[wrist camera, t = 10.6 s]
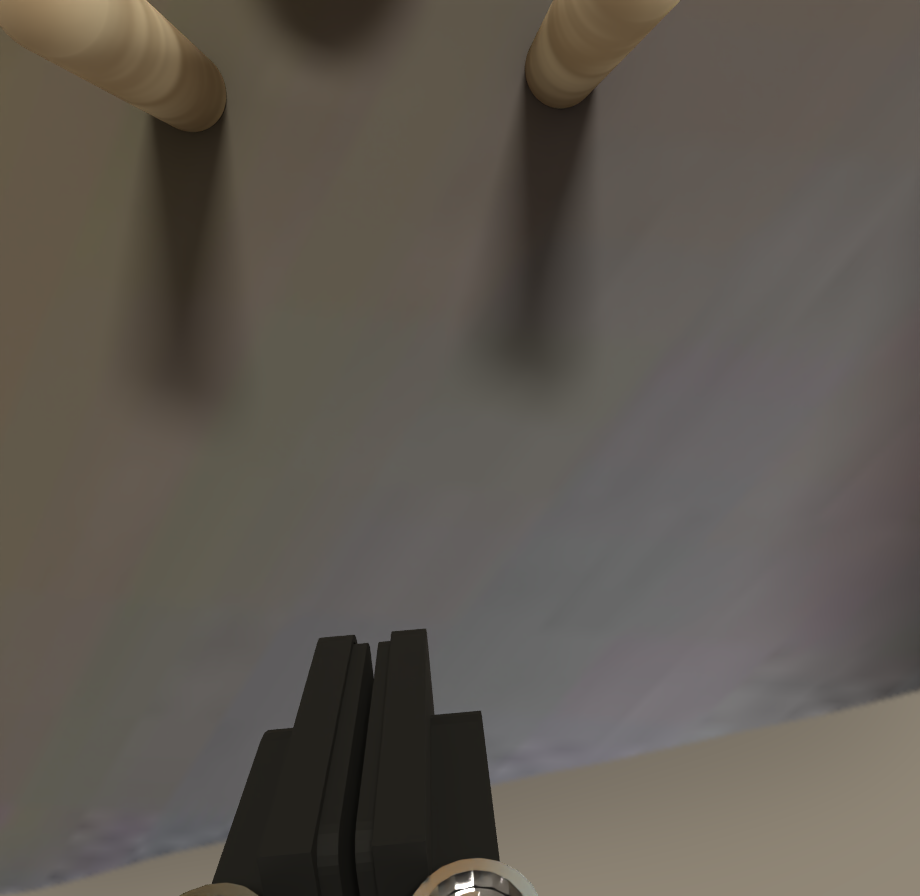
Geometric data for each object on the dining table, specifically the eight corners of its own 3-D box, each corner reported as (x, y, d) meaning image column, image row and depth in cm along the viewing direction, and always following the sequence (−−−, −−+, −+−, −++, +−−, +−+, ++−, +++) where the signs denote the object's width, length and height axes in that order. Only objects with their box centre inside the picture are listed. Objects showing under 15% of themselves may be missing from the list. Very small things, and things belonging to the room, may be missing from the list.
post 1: (219, 47, 23) (93, -85, 14) (231, 129, 23) (118, 53, 15) (143, 51, 23) (-32, -78, 14) (158, 134, 23) (0, 60, 15)
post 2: (597, 24, 23) (700, -118, 14) (598, 106, 24) (696, 18, 15) (523, 28, 23) (582, -112, 14) (526, 110, 24) (584, 24, 15)
